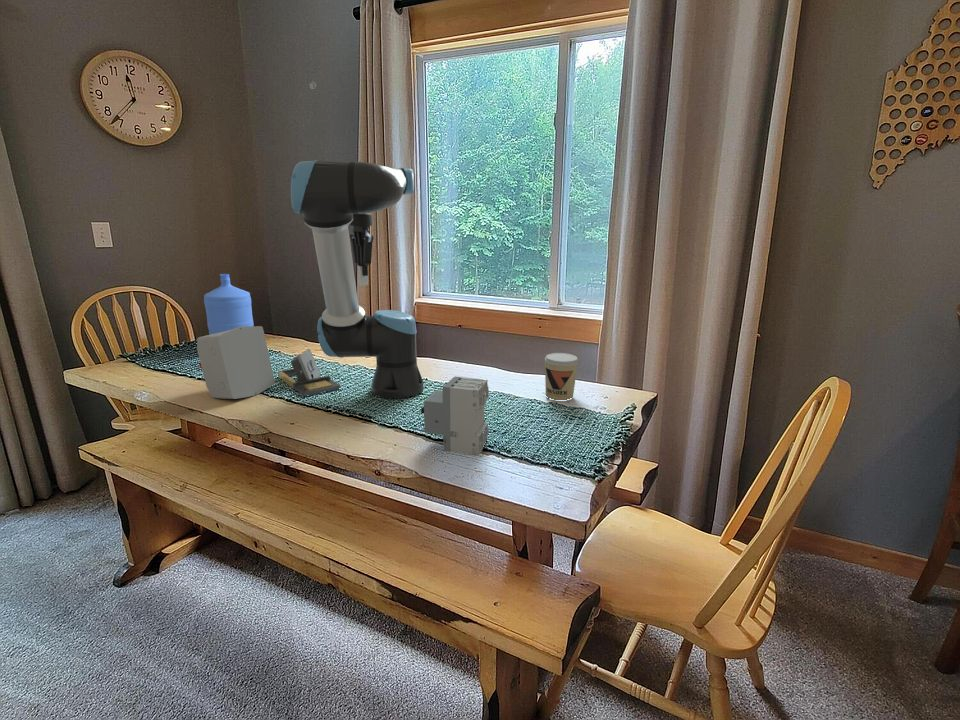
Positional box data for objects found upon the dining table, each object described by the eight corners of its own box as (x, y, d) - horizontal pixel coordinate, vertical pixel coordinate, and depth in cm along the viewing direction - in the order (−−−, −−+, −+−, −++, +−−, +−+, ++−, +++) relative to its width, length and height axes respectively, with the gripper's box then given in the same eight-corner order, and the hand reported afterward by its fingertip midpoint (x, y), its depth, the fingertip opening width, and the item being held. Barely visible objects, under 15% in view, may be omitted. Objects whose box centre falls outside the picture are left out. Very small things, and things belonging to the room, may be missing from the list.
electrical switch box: (242, 387, 156) (227, 323, 152) (276, 387, 150) (261, 321, 145) (199, 402, 144) (181, 333, 139) (233, 403, 137) (216, 331, 133)
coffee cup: (539, 400, 142) (541, 359, 139) (547, 389, 151) (549, 351, 147) (572, 404, 139) (574, 363, 136) (578, 394, 147) (581, 354, 144)
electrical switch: (311, 385, 152) (305, 356, 149) (294, 387, 152) (288, 357, 149) (320, 376, 161) (315, 348, 158) (304, 377, 161) (299, 349, 158)
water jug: (246, 354, 184) (236, 277, 176) (203, 353, 184) (191, 276, 176) (263, 343, 199) (255, 272, 191) (223, 343, 199) (213, 271, 191)
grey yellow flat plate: (340, 389, 149) (340, 382, 149) (304, 397, 143) (303, 390, 142) (312, 371, 166) (312, 365, 165) (278, 377, 159) (277, 371, 158)
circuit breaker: (430, 433, 120) (429, 373, 116) (487, 441, 116) (488, 379, 112) (417, 446, 113) (416, 383, 109) (478, 455, 110) (478, 390, 105)
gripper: (379, 213, 163) (383, 286, 170) (361, 213, 173) (365, 282, 179) (358, 213, 158) (362, 288, 165) (341, 213, 168) (345, 283, 175)
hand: (364, 285), depth 172 cm, fingers closed
